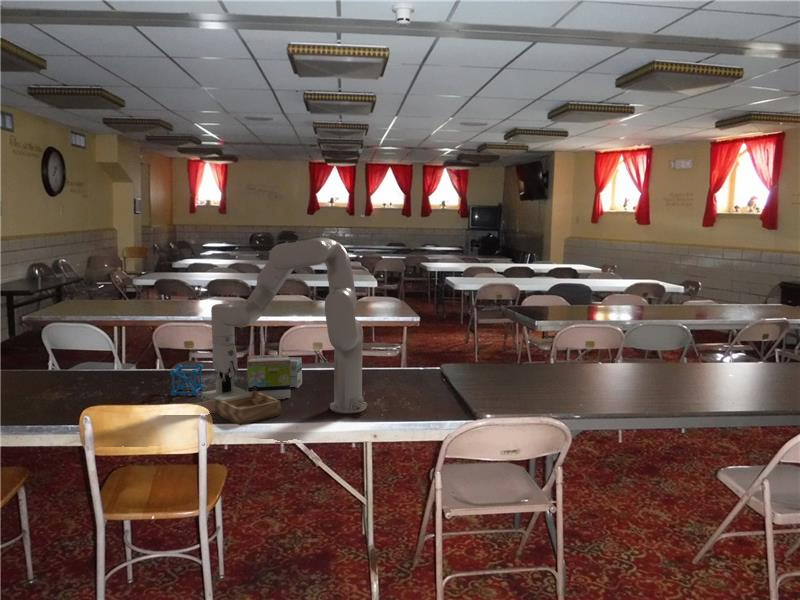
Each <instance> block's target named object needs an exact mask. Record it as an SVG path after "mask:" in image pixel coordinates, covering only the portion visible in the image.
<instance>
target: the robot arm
mask: <svg viewBox="0 0 800 600" xmlns="http://www.w3.org/2000/svg"><path fill="white" fill-rule="evenodd" d="M322 264H325V266H326V273H327V275H326V276H327V281H328V289H329V293H328V294H327V296H326V297H325V300H324V313H325V321H326V328H327V335H328V340H329V343H330V344H331V346H332V347H333V348H334V352H333V353H334V354H333V357H334V358H333V361H334V365H333V367H334V368H333V369H334V370H333V371H334V372H333V374H334V375H333V377H334V379H333V384H334V385H333V387H334V389H333V391H334V392H333V393H334V395H333V397H334V399H333V400H334V401H333V402H331V403H330V404H329V410H331V411H332V412H334V413H338V414H356V413H361V412H363V411H365V410H366V409H367V406H368V405H369V404H368V402H365V399H364V396H363V346H364V345H363V343H364V330H363V326H362V324H361V322H360V321H359V320H358V319H356V315H355V314H356V313H355V308H357V304H358V299H357V298H358V297H357V293H356V292H357V291H356V286H355V282H354V279H355V278H354V275H353V267H352V262H351V259H350V256H349V254H348V252H347V249H346V248H345V247H344V246H343V245H342V244H341V243H340V242H338V241H336V240H334V239H333V238H332V239H331V238H328V237H322V236H321V237H316V238H311V239H305V240H299V241H295V242H289V243H288V242H285V243H279V244H276V245H275V246H273V247H272V248H271V250H270V252H269V254H268V261H267V262H266V263H265V264H264V266H263V267H262V269H261V271H259V273H257V276H256V286H255V287H254V289H253V291H252V292H251V294H250V295H249V296H248V298H247V299H246V300H245V301H244V303H241V304H238V305H232V304H231V303H217V304H213V305H212V306H211V310H210V313H211V314H210V315H211V317H210V318H211V337H212V338H211V341H212V367H213V369H214V370H215V372H216V374H217V379H220V378H223V381H222V392H223V393H225V392H230V391H231V380H232V377H235V373H237V372H238V370H239V365H238V354H237V349H236V348H237V347H236V343H235V342H236V337H235V336H236V335H235V327H236V328H245V327H248V326H250V325H251V324H254V323H255V322H256V321H258V320H259V319H260V318H261V317H262V315H263V314H264V312H265V311H266V310H267V309H268V308H269V306H270V304H271V303H272V302H273V300H274V298H275V296H276V295H277V294H278V292H279V290H280V288H282V286H283V285H284V284H285V282H286V280H287V279H288V278H289V276H290V275H291V274H292V273H293V271H294V270H295V269H302V268H307V267H312V266H313V267H315V266H318V265H322Z"/></svg>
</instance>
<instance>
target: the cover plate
mask: <svg viewBox="0 0 800 600" xmlns="http://www.w3.org/2000/svg"><path fill="white" fill-rule="evenodd" d="M234 377H235V376H234ZM234 377H232V380H231V391H230V392H225V393H223V392H222V381H223V378H220V379H218V378H216V379H215V389H213V390H208V391H202V392H201V395H202V396H203V397H205V398H207V399H209V400H213V401H215V399H220V400H223V401H225V402H230V401H235V400H240V399H244V398H248V397H252V396H253V394H252V393H250V392H248V391H247V390H245V389H243V388H241V387H237V386H235V378H234ZM215 402H216V401H215Z"/></svg>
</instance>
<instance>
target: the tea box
mask: <svg viewBox="0 0 800 600" xmlns="http://www.w3.org/2000/svg"><path fill="white" fill-rule="evenodd" d="M246 370H247V371H246V377H247V378H246V382H247V383H246V385H247V386H246V387H247V388H246V389H247V390H246V391H248V392H250V393H252V394H253V391H258V392H260V393H262V394H265V395H267V396H270V397H272V398H275V399H277V400H286V399H285V398H290V399H291V389H292V388H291V381H290V370H291V362H290V359H289V355H288V354H267V355H265V354H264V355H263V354H261V355H247V356H246ZM252 397H253V396H252ZM248 398H249V397H248Z"/></svg>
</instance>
